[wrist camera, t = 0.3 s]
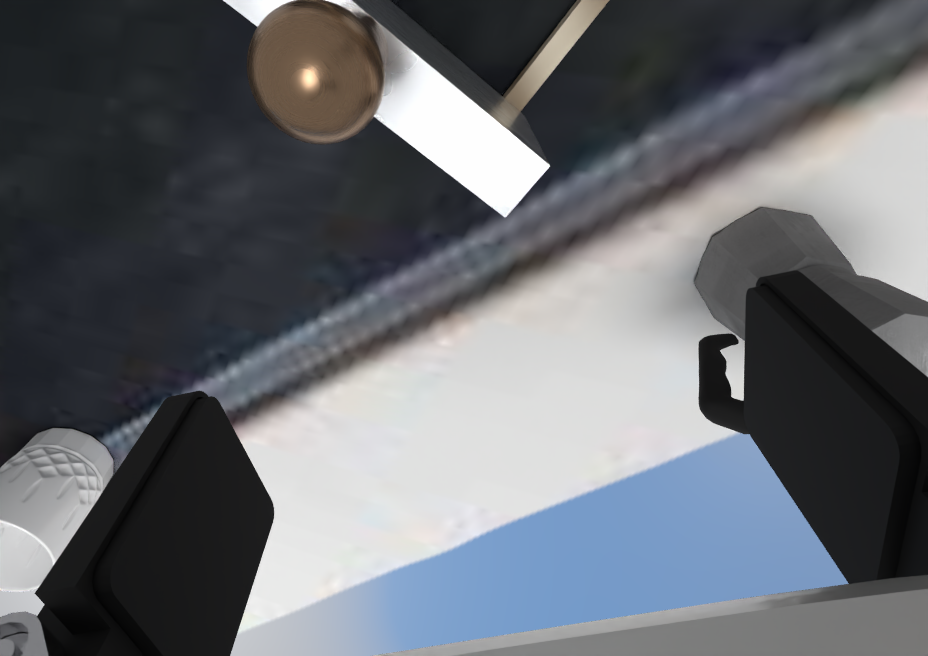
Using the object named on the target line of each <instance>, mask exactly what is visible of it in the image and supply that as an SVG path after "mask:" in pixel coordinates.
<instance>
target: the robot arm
mask: <svg viewBox="0 0 928 656" xmlns="http://www.w3.org/2000/svg"><path fill="white" fill-rule="evenodd" d="M744 420H745V424H746V427H747V430H748V432H749V434H750V435H751V437H752V439H753V440H754V442H755V443H756V445H757V446H758V448H759V449H760V451H761V452H762V454H763V455H764V457H765V458H766V460H767V461H768V463H769V464H770V466H771V467H772V469H773V470H774V471H775V473H776V475H777V476H778V478H779V479H780V481H781V482H782V484H783V485H784V487H785V488H786V490H787V491H788V493H789V494H790V496H791V497H792V499H793V500H794V502H795V503H796V505H797V506H798V508H799V509H800V511H801V512H802V514H803V515H804V517H805V518H806V520H807V521H808V523H809V524H810V526H811V527H812V529H813V530H814V532H815V533H816V535H817V536H818V538H819V539H820V541H821V542H822V544H823V545H824V547H825V548H826V550H827V551H828V553H829V554H830V556H831V557H832V559H833V560H834V562H835V563H836V565H837V566H838V568H839V569H840V571H841V572H842V574H843V575H844V577H845V578H846V580H847V581H848V583H849V584H845V585H838V586H830V587H823V588H816V589H808V590H801V591H794V592H786V593H778V594H771V595H764V596H757V597H750V598H744V599H737V600H730V601H724V602H717V603H711V604H704V605H698V606H691V607H684V608H677V609H671V610H664V611H658V612H652V613H644V614H638V615H631V616H625V617H618V618H611V619H605V620H599V621H591V622H585V623H578V624H572V625H566V626H559V627H553V628H546V629H540V630H534V631H528V632H520V633H514V634H508V635H501V636H495V637H488V638H482V639H476V640H469V641H463V642H457V643H450V644H444V645H437V646H431V647H425V648H418V649H412V650H406V651H400V652H393V653H387V654H380V655H374V656H928V377H927V376H926V375H925V374H924V373H922V372H921V371H920V370H919V369H918V368H916V367H915V366H914V365H913V364H911V363H910V362H909V361H908V360H907V359H905V358H904V357H903V356H902V355H901V354H899V353H898V352H897V351H896V350H895V349H893V348H892V347H891V346H890V345H888V344H887V343H886V342H885V341H884V340H882V339H881V338H880V337H879V336H878V335H876V334H875V333H874V332H873V331H872V330H870V329H869V328H868V327H867V326H865V325H864V324H863V323H862V322H861V321H859V320H858V319H857V318H856V317H855V316H853V315H852V314H851V313H850V312H849V311H847V310H846V309H845V308H844V307H842V306H841V305H840V304H839V303H838V302H836V301H835V300H834V299H833V298H832V297H830V296H829V295H828V294H827V293H826V292H824V291H823V290H822V289H821V288H819V287H818V286H817V285H816V284H815V283H813V282H812V281H811V280H810V279H809V278H807V277H806V276H805V275H804V274H803V273H801V272H799V271H798V270H793V271H788V272H783V273H778V274H773V275H768V276H764V277H760V278H759V279H758V280H757V282H756V287H753V288H749V289H748V290H747V293H746V309H745V365H744ZM273 519H274V507H273V503H272V500H271V498H270V496H269V494H268V492H267V491H266V489H265V487H264V485H263V483H262V481H261V479H260V478H259V476H258V474H257V472H256V470H255V468H254V466H253V464H252V463H251V461H250V459H249V457H248V455H247V453H246V451H245V449H244V448H243V446H242V444H241V442H240V440H239V438H238V436H237V434H236V433H235V431H234V429H233V427H232V425H231V423H230V421H229V420H228V418H227V416H226V414H225V412H224V410H223V408H222V406H221V405H220V403H219V401H218V400H217V399H216V398H215V397H212V396H211V397H208V395H207V394H205V393H204V392H202V391H196V392H191V393H186V394H181V395H176V396H171V397H168V398H167V399H166V400H165V401H164V402H163V403H162V405H161V406H160V408H159V409H158V411H157V412H156V414H155V415H154V417H153V418H152V420H151V421H150V423H149V424H148V426H147V427H146V429H145V430H144V432H143V433H142V435H141V436H140V438H139V439H138V441H137V442H136V443H135V445H134V446H133V448H132V449H131V451H130V452H129V454H128V455H127V457H126V458H125V460H124V461H123V463H122V464H121V466H120V467H119V469H118V470H117V472H116V473H115V475H114V476H113V478H112V479H111V481H110V482H109V484H108V485H107V487H106V488H105V490H104V491H103V493H102V494H101V496H100V497H99V499H98V500H97V501H96V503H95V504H94V506H93V507H92V509H91V510H90V512H89V513H88V515H87V516H86V518H85V519H84V521H83V522H82V524H81V525H80V527H79V528H78V530H77V531H76V533H75V534H74V536H73V537H72V539H71V540H70V542H69V543H68V545H67V546H66V548H65V549H64V551H63V552H62V554H61V555H60V557H59V558H58V559H57V561H56V562H55V564H54V565H53V567H52V568H51V570H50V571H49V573H48V574H47V576H46V577H45V579H44V580H43V582H42V583H41V585H40V586H39V588H38V590H37V591H36V592H35V594H36V595H37V596H38V597H39V599H40V600H41V601H42V602H43V603H44V604H45V605H44V607H43V608H42V610H41V611H40V613H39V614H38V616H36V615H34V614H31V613H28V612H18V613H11V614H8V615H5V616H2V617H0V656H230V654H231V651H232V648H233V644H234V641H235V638H236V635H237V632H238V629H239V626H240V623H241V620H242V617H243V614H244V610H245V607H246V604H247V601H248V598H249V595H250V592H251V589H252V586H253V582H254V579H255V576H256V573H257V570H258V567H259V564H260V561H261V558H262V554H263V551H264V548H265V545H266V542H267V539H268V536H269V533H270V530H271V526H272V523H273Z"/></svg>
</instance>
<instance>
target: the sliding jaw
mask: <svg viewBox="0 0 928 656" xmlns="http://www.w3.org/2000/svg"><path fill="white" fill-rule="evenodd" d="M223 1H225V2H226V3H227V4H229V5H230V6H231V7H233V8H234V9H235V10H236V11H238V12H239V13H240V14H242V15H243V16H244V17H245V18H247V19H248V20H249V21H251V22H252V23H253V24H255V25H256V26H257V29H256V30H255V33H254V35H253V37H252V39H251V42H250V45H249V49H248V55H247V74H248V80H249V84H250V88H251V91H252V94H253V96H254V98H255V100H256V102H257V104H258V106H259V107H260V109H261V111H262V112H263V113H264V115H265V116H266V117H267V118H268V119H269V120H270V121H271V122H272V123H273V124H274V125H275V126H276V127H277V128H278V129H280V130H281V131H283V132H284V133H286V134H287V135H289V136H291V137H293V138H295V139H297V140H300V141H303V142H307V143H312V144H332V143H337V142H341V141H344V140H347V139H349V138H351V137H353V136H355V135H356V134H358V133H359V132H360V131H362V130H363V129H364V128H365V127H366V126H367V125H368V124H369V123H370V121H371V120H372V119H373V118H374V117H375V118H377V119H378V120H379V121H381V122H382V123H383V124H384V125H386V126H387V127H388V128H390V129H391V130H392V131H393V132H395V133H396V134H397V135H399V136H400V137H401V138H403V139H404V140H405V141H406V142H408V143H409V144H410V145H412V146H413V147H414V148H416V149H417V150H418V151H419V152H421V153H422V154H423V155H425V156H426V157H427V158H429V159H430V160H431V161H432V162H434V163H435V164H436V165H438V166H439V167H440V168H442V169H443V170H444V171H445V172H447V173H448V174H449V175H451V176H452V177H453V178H455V179H456V180H457V181H458V182H460V183H461V184H462V185H464V186H465V187H466V188H467V189H469V190H470V191H471V192H473V193H474V194H475V195H477V196H478V197H479V198H480V199H482V200H483V201H484V202H486V203H487V204H488V205H490V206H491V207H492V208H493V209H495V210H496V211H497V212H499V213H500V214H501V215H503V216H504V217H505V218H506V217H507V215H508V214H509V213H510V212H511V211H512V210H513V208H514V207H515V206H516V205H517V204H518V203H519V201H520V200H521V199H522V198H523V197H524V196H525V194H526V193H527V192H528V191H529V190H530V189H531V187H532V186H533V185H534V184H535V183H536V182H537V180H538V179H539V178H540V177H541V176H542V175H543V173H544V172H545V171H546V170H547V169H548V168H549V166H550V165H549V163H548V161H547V159H546V157H545V155H544V153H543V151H542V149H541V147H540V145H539V143H538V141H537V139H536V137H535V135H534V133H533V131H532V129H531V128H530V126H529V124H528V122H527V120H526V118H525V116H524V114H522V113H521V112H520V111H519V110H518V109H517V108H515V107H514V106H513V105H512V104H511V103H510V102H508V101H507V100H506V99H505V98H504V97H503V96H501V95H500V94H499V93H498V92H497V91H496V90H494V89H493V88H492V87H491V86H490V85H489V84H487V83H486V82H485V81H484V80H483V79H482V78H480V77H479V76H478V75H477V74H476V73H475V72H473V71H472V70H471V69H470V68H469V67H468V66H466V65H465V64H464V63H463V62H462V61H461V60H459V59H458V58H457V57H456V56H455V55H453V54H452V53H451V52H450V51H449V50H448V49H446V48H445V47H444V46H443V45H442V44H441V43H439V42H438V41H437V40H436V39H435V38H434V37H432V36H431V35H430V34H429V33H428V32H427V31H425V30H424V29H423V28H422V27H421V26H420V25H418V24H417V23H416V22H415V21H414V20H413V19H411V18H410V17H409V16H408V15H407V14H406V13H404V12H403V11H402V10H401V9H400V8H399V7H397V6H396V5H395V4H394V3H393V2H392V1H390V0H223Z"/></svg>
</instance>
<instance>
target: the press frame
mask: <svg viewBox="0 0 928 656" xmlns="http://www.w3.org/2000/svg"><path fill="white" fill-rule="evenodd" d="M608 1H609V0H577V1H576V2H575V4H574V5H573V6H572V7H571V9H570V10H569V11H568V13H567V14H566V15H565V16H564V18H563V19H562V20H561V22H560V23H559V24H558V25H557V27H556V28H555V29H554V31H553V32H552V33H551V34H550V36H549V37H548V38H547V40H546V41H545V42H544V44H543V45H542V46H541V47H540V49H539V50H538V51H537V53H536V54H535V55H534V56H533V58H532V59H531V60H530V62H529V63H528V64H527V65H526V67H525V68H524V69H523V71H522V72H521V73H520V74H519V76H518V77H517V78H516V80H515V81H514V82H513V83H512V85H511V86H510V87H509V89H508V90H507V91H506V93H505V94H504V95H503V97H504V98H505V99H506V100H507V101H508V102H510V103H511V104H512V105H513V106H514V107H515V108H517V109H518V110H519V111H520V112H521V110H522V109H523V108H524V106H525V105H526V104H527V103H528V101H529V100H530V99H531V98H532V96H533V95H534V94H535V93H536V91H537V90H538V89H539V88H540V86H541V85H542V84H543V83H544V81H545V80H546V79H547V78H548V76H549V75H550V74H551V73H552V71H553V70H554V69H555V68H556V66H557V65H558V64H559V63H560V61H561V60H562V59H563V58H564V56H565V55H566V54H567V53H568V51H569V50H570V49H571V48H572V46H573V45H574V44H575V43H576V41H577V40H578V39H579V38H580V36H581V35H582V34H583V33H584V31H585V30H586V29H587V28H588V26H589V25H590V24H591V23H592V21H593V20H594V19H595V18H596V16H597V15H598V14H599V13H600V11H601V10H602V9H603V8H604V6H605V5H606V4H607V3H608Z"/></svg>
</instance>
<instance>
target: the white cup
mask: <svg viewBox="0 0 928 656" xmlns="http://www.w3.org/2000/svg"><path fill="white" fill-rule="evenodd" d="M113 469H114V460H113V458H112V457H111V455H110V453H109V451H108V450H107V448H106V447H105V446H104V445H103V444H101V443H100V442H99V441H97V440H96V439H95V438H93V437H92V436H91V435H88V434H85V433H83V432H80V431H77V430H74V429H67V428H51V429H48V430H46V431H43V432H40V433H37V434H36V435H35V436H34V437H33V438H32V439H31V440H30V441H29V442H28V443H27V444H26V445H25V446H24V447H23V448H22V449H21V450H20V451H19V452H18V453H17V454H16V455H15V456H14V457H12V458H11V459H9V460H8V461H7V462H6V463H5V464H4V465H3V466H2V467H1V468H0V591H7V592H24V591H31V590H35V589H38V588H39V586H40V585H41V583H42V582H43V580H44V579H45V577H46V576H47V574H48V573H49V571H50V570H51V568H52V567H53V565H54V564H55V562H56V561H57V559H58V558H59V557H60V555H61V554H62V552H63V551H64V549H65V548H66V546H67V545H68V543H69V542H70V540H71V539H72V537H73V536H74V534H75V533H76V531H77V530H78V528H79V527H80V525H81V524H82V522H83V521H84V519H85V518H86V516H87V515H88V513H89V512H90V510H91V509H92V507H93V506H94V504H95V503H96V501H97V500H98V499H99V497H100V495H101V493H102V491H103V490H104V488H105V487H106V485H107V483H108V482H109V480H110V479H111V477H112V475H113Z"/></svg>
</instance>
